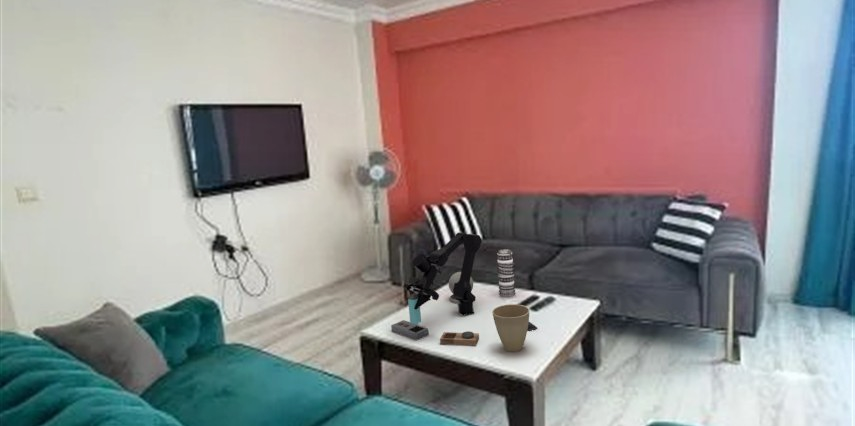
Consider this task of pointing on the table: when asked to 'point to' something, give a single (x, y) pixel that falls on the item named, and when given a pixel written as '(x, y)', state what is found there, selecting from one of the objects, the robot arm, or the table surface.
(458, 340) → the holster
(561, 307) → the table surface
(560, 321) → the table surface
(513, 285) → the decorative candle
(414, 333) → the port block
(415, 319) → the plug
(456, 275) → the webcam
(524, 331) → the plant pot
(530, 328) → the phone
